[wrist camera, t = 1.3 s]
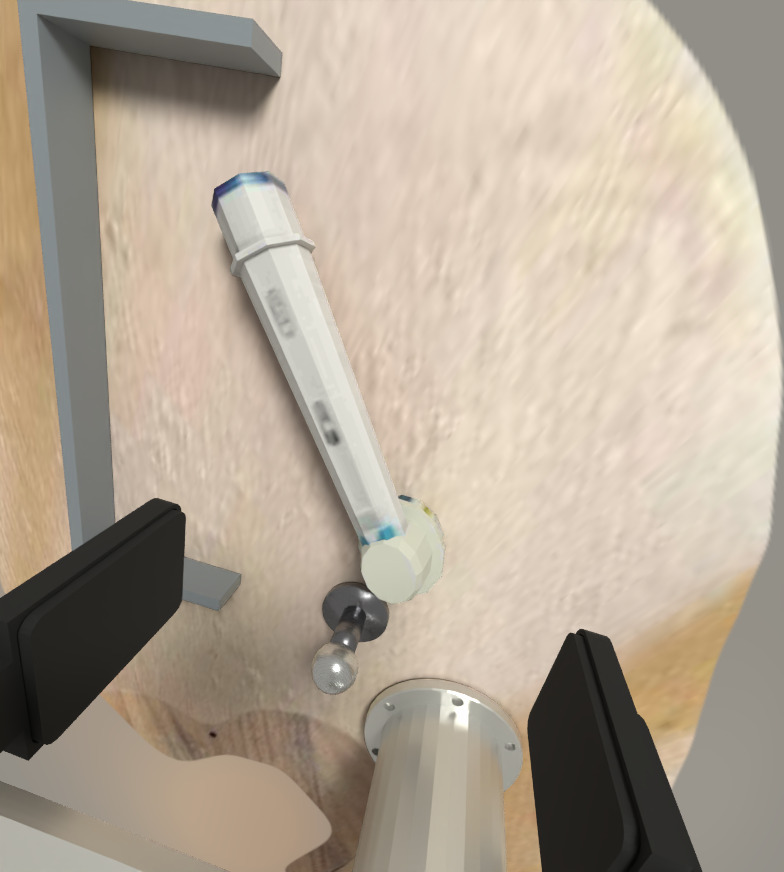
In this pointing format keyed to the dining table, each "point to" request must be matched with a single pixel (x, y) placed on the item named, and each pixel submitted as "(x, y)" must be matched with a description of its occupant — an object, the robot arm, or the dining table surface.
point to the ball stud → (347, 634)
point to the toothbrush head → (326, 384)
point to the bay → (79, 217)
